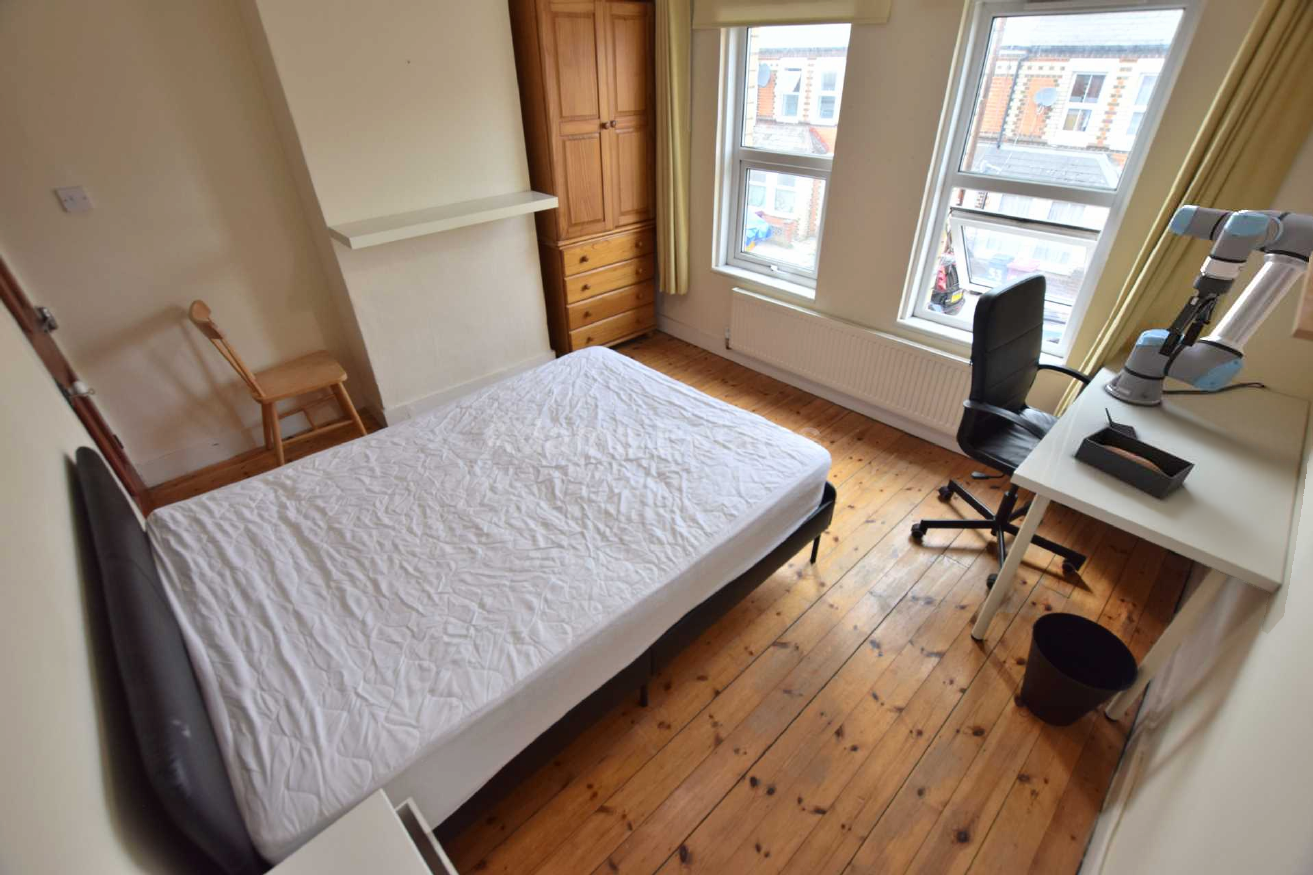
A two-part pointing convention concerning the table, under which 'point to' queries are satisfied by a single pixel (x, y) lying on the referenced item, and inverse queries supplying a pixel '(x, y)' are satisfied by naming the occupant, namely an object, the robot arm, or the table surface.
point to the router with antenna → (1121, 427)
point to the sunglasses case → (1135, 458)
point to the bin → (1134, 462)
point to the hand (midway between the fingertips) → (1175, 350)
